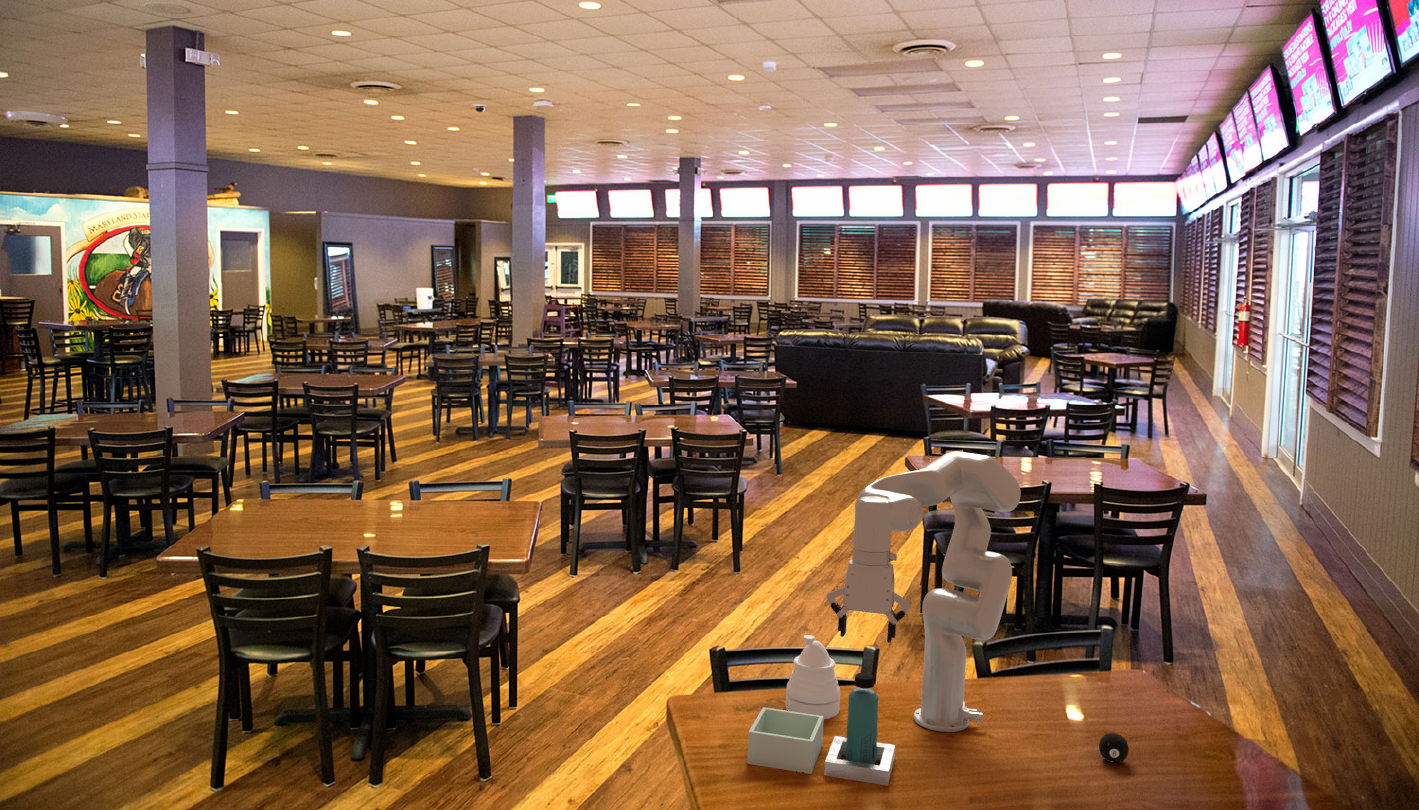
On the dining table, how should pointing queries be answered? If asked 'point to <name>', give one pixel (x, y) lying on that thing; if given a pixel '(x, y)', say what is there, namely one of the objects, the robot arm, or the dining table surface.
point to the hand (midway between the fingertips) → (866, 637)
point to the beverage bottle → (862, 721)
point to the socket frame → (859, 764)
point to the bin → (785, 740)
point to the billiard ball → (1113, 747)
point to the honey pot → (813, 682)
